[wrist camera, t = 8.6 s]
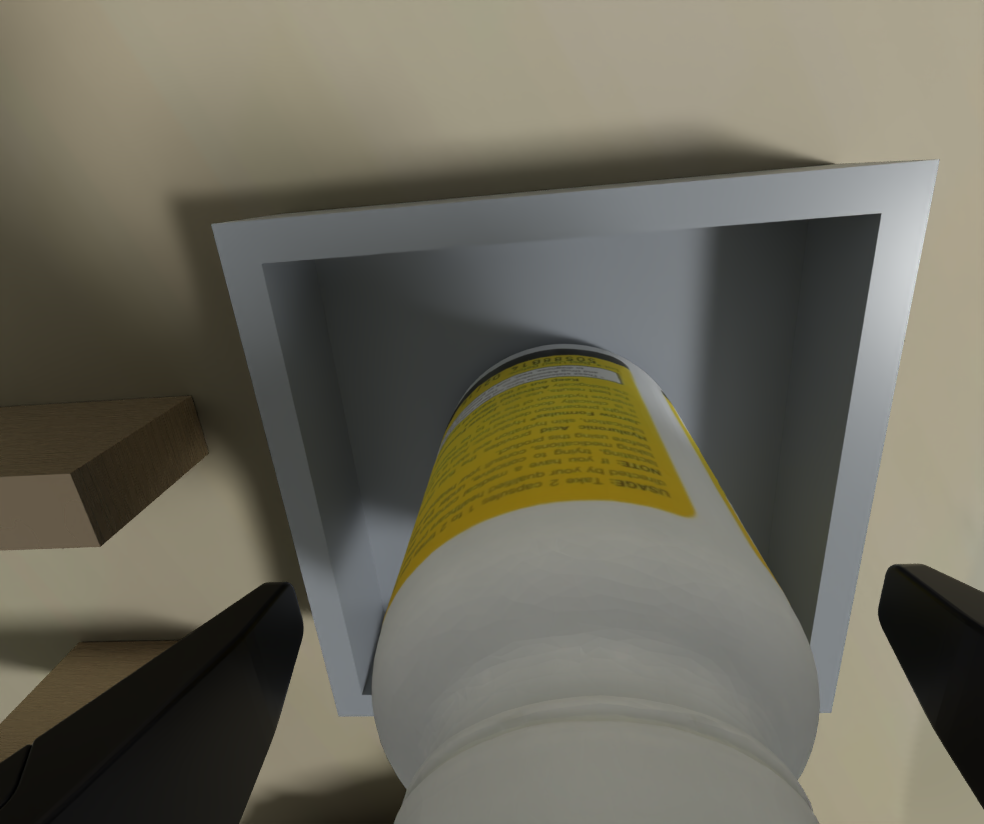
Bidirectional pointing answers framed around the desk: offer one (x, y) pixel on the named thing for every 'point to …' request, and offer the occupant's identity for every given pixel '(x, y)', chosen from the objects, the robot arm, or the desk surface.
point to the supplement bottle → (588, 619)
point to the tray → (591, 322)
